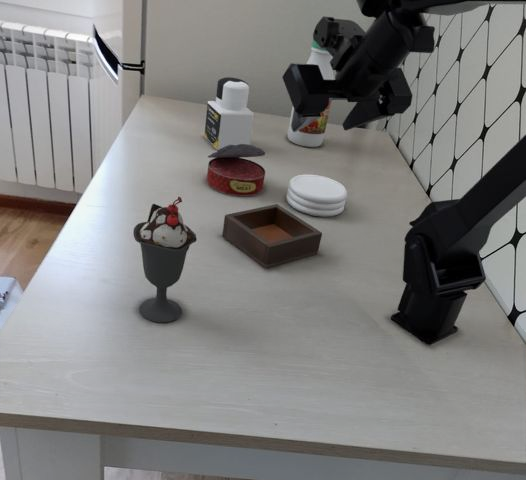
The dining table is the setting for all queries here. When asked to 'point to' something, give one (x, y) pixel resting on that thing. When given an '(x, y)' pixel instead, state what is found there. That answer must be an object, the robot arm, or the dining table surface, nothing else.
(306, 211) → the coaster
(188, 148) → the dining table surface
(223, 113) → the medicine bottle
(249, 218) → the brown wooden square box
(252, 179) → the canned food
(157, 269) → the sundae
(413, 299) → the robot arm
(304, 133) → the milk bottle
